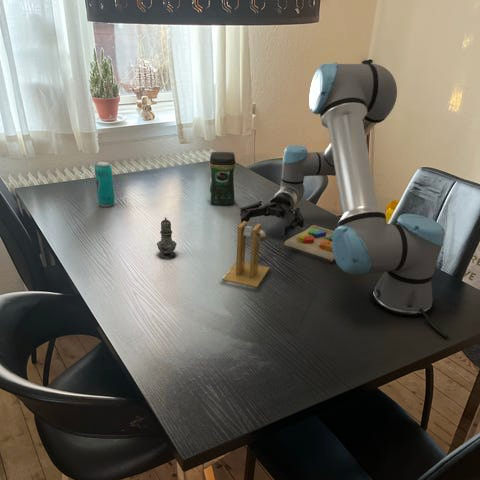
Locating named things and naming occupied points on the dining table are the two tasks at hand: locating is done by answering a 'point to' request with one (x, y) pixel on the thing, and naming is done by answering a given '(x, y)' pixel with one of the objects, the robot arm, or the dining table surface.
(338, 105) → the robot arm
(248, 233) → the tap lever
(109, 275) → the dining table surface
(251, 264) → the wooden lever stand
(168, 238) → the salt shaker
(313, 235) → the puzzle board
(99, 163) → the beverage can
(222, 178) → the coffee jar
